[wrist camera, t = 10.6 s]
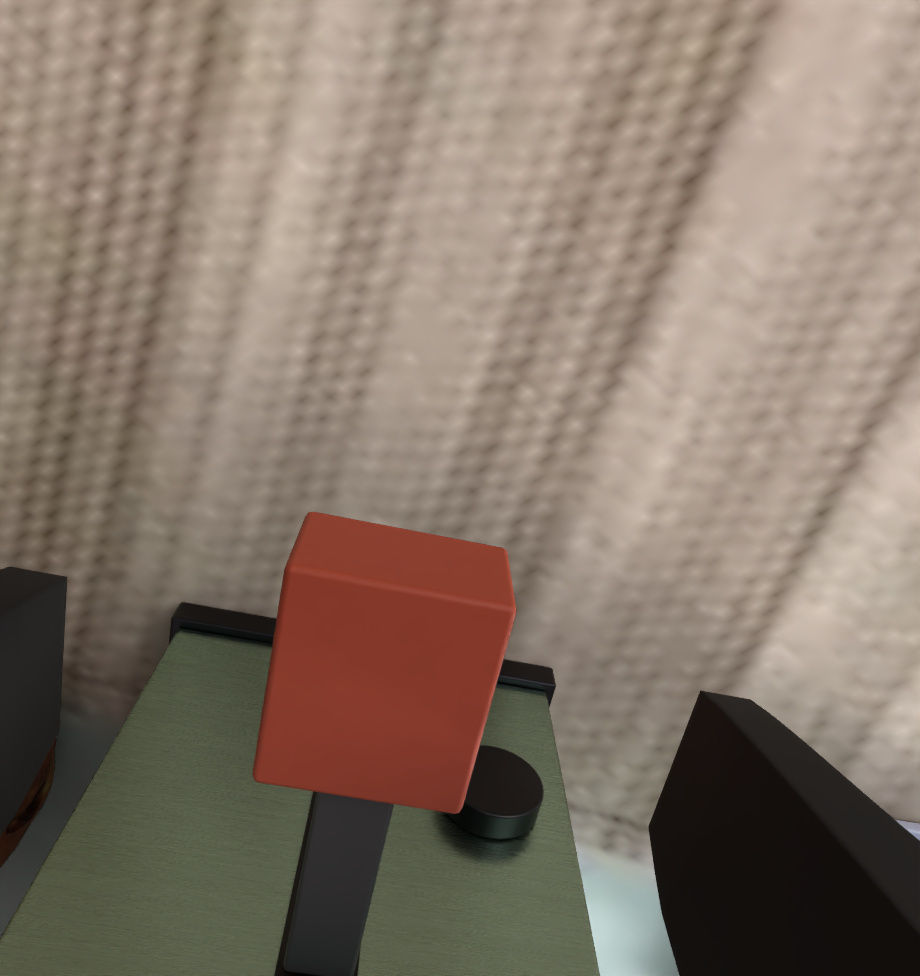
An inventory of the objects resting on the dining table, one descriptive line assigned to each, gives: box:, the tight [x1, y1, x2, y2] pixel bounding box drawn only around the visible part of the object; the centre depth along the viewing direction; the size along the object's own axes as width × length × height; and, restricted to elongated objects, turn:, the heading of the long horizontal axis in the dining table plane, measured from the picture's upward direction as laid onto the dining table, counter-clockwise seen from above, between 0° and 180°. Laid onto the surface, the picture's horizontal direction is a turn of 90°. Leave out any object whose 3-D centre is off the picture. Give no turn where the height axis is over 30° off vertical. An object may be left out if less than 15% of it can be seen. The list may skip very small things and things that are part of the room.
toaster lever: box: [252, 512, 517, 976], centre depth 11 cm, size 6×3×2 cm, turn 168°
